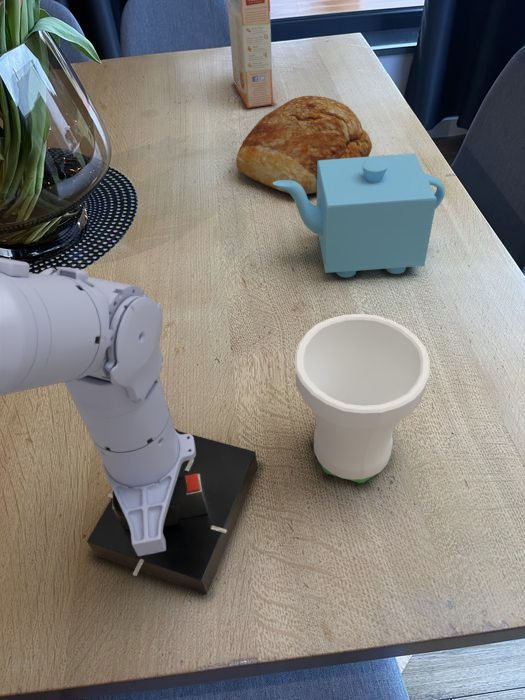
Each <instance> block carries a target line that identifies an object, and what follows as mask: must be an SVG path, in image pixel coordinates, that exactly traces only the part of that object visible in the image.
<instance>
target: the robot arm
mask: <svg viewBox="0 0 525 700" xmlns="http://www.w3.org/2000/svg"><path fill="white" fill-rule="evenodd" d="M30 268H31V267H30V264H29V263H28V262H26V261H22V260H15V259H11V258H7V257H6V258H5V257H0V397H2V396H6V395H11V394H15V393H16V394H17V393H20V392H24V391H25V392H26V391H31V390H34V389H39V388H44V387H48V386H55V385H58V384H63V383H64V386H65V387H66V389H67V391H68V393H69V395H70V398H71V400H72V402H73V403H74V406H75V408H76V411H77V412H78V414H79V416H80V418H81V420H82V422H83V423H84V426H85V428H86V430H87V432H88V434H89V437H90V439H91V441H92V442H93V445H94V446H95V447H94V448H95V449H96V451H97V453H98V455H99V457H100V459H101V462H102V468H103V471H104V474H105V476H106V478H107V480H108V482H109V485H110V486H111V489H112V494H113V507H114V509H115V511H116V512H117V514H118V515H119V516H125V517H126V520H127V522H128V525H129V528H130V532H131V540H132V546H133V548H134V549H135V551H136V553H137V555H138V556H142V555H148V554H153V553H157V552H162V551H165V550H166V542H165V538H164V535H163V527H166V526H171V525H176V524H177V522H178V510H179V507H180V506H181V505H183V504H184V503H185V501H186V496H187V489H186V479H185V476H180V477H178V474H179V471H180V467H181V465H182V463H183V462H184V461H188V460H191V459H193V458H194V457H195V456H196V450H195V442H194V438H193V436H192V435H193V434H192V435H191V433H188V434H180V432H181V431H180V430H179V429H177V428H175V425H174V422H173V419H172V418H173V417H172V415H171V411H170V408H169V405H168V401H167V397H166V394H165V390H164V387H163V384H162V381H161V377H160V375H161V373H162V370H163V365H162V364H163V361H164V358H163V354H162V352H161V338H162V337H161V336H162V331H163V310H162V304H161V302H157V303H156V302H155V301H154V300H153V298H152V297H149V296H148V294H146V293H145V290H144V289H143V288H142V287H140V286H138V285H133V284H129V283H125V282H118V281H114V280H108V279H102V278H97V277H92V276H89V273H88V272H87V271H86V270H83V269H79V268H74V267H67V266H59V267H58V268H57V269H56V268H55V267H50V268H46V269H44V270H43V271H41V272H39V273H30ZM179 431H180V432H179Z"/></svg>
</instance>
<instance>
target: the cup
mask: <svg viewBox="0 0 525 700" xmlns="http://www.w3.org/2000/svg"><path fill="white" fill-rule="evenodd" d="M294 375H295V387H296V389H297V391H298V393H299V395H300V397H301V399H302V400H303V402H304V403H305V404H306V405H307V407H309V409H310V410H311V411H312V413H313V415H314V419H315V424H316V425H315V429H314V434H313V453H314V454H315V456H316V459H317V461H318V463H319V465H320V466H321V469H322V470H323V472H324V473H325V474H326V475H331V476H335V477H339V479H345V480H349V481H352V482H355V483H357V484H364V483H365V482H367V481H368V480H370V479H372V478H373V477H375V475H377V474H380V473H382V471H383V470H384V468H385V467H386V466H388V464H389V462H390V458H391V455H392V451H393V440H394V437H393V434H394V430H395V429H396V427H397V425H398V424H399V423H400V422H401V421H402V420H403V421H404V419H406V418H408V417H409V416H411V415H412V413H413V412H414V411H415V410H416V409H417V407H418V406H419V405H420V403H421V401H422V399H423V397H424V394H425V393H426V389H427V386H428V382H429V379H430V375H431V360H430V357H429V352H428V349H427V348H426V346H425V345H424V344H423V342H422V341H421V340H420V338H419V337H418V336H417V335H416V334H414V333H413V332H412V331H411V330H409V329H408V328H407V327H405V326H404V325H401V324H400V323H398V322H395V321H394V320H392V319H388V318H386V317H383V316H380V315H378V314H366V313H352V314H342V315H337V316H335V317H331V318H327V319H325V320H322V321H320V322H318V323H316V324H315V325H313V326H312V327H311V328H310V329H309V330H308V331H307V332H306V333H304V335H303V336H302V338H301V339H300V341H299V342H298V344H297V347H296V351H295V354H294Z"/></svg>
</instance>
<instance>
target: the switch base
mask: <svg viewBox="0 0 525 700" xmlns="http://www.w3.org/2000/svg"><path fill="white" fill-rule="evenodd" d="M178 431H179V432H180V434H189V433H187V432H184V431H181V430H178ZM190 434H191V433H190ZM191 435H192V436H193V438H194V442H195V450H196V456H195V457H194V458H193V459H191V460H188V461H184V462H183V463H182V465H181V467H180V471H179V474H178V477H180V476H187V475H192V474H200V475H201V479H202V483H203V487H204V490H205V494H206V499H207V507H208V514H203V515H198V516H193V517H188V518H183V519H178V522H177V524H176V525H171V526H166V527H163V535H164V538H165V542H166V550H165V551H162V552H157V553H153V554H148V555H142V556H138V555H137V553H136V551H135V549H134V548H133V546H132V540H131V532H130V529H129V530H124V529H123V527H122V526H121V524H120V522H119V520H118V518H117V516H116V514H115V512H114V510H113V493H111V492H110V493H109V494H108V495H107V498H110V500H109V502H108V504H107V505H106V507H105V509H104V510H103V512H102V514H101V515H100V517H99V519H98V521H97V523H96V525H95V526H94V528H93V530H92V532H91V533H90V535H89V537H88V538H87V540H86V543H87V544H88V546H89V548H90V549H91V550H92V552H93V553H94V555H95V556H96V557H98V558H102V559H104V560H107V561H109V562H112V563H116V564H119V565H121V566H125V567H127V568H130V569H133V570H134V571H133V572H132V576H134V577H137V576H138V575H139V572H142V573H145V574H148V575H150V576H152V577H155V578H158V579H162V580H164V581H167V582H170V583H173V584H176V585H179V586H181V587H184V588H188V589H190V590H193V591H195V592H199V593H202V594H205V595H207V594H208V592H209V590H210V588H211V585H212V583H213V580H214V577H215V575H216V572H217V570H218V566H219V564H220V562H221V560H222V558H223V555H224V552H225V550H226V547H227V546H228V543H229V540H230V537H231V535H232V532H233V530H234V528H235V525H236V523H237V520H238V518H239V515H240V513H241V511H242V509H243V508H242V507H243V505H244V503H245V500H246V498H247V495H248V493H249V490H250V489H251V488H250V487H251V486H252V483H253V481H254V478H255V475H256V473H257V471H258V460H257V451H255V450H250V449H248V448H245V447H244V448H243V447H240V446H236V445H232V444H228V443H225V442H222V441H218V440H214V439H211V438H207V437H202V436H199V435H195V434H191Z"/></svg>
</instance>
